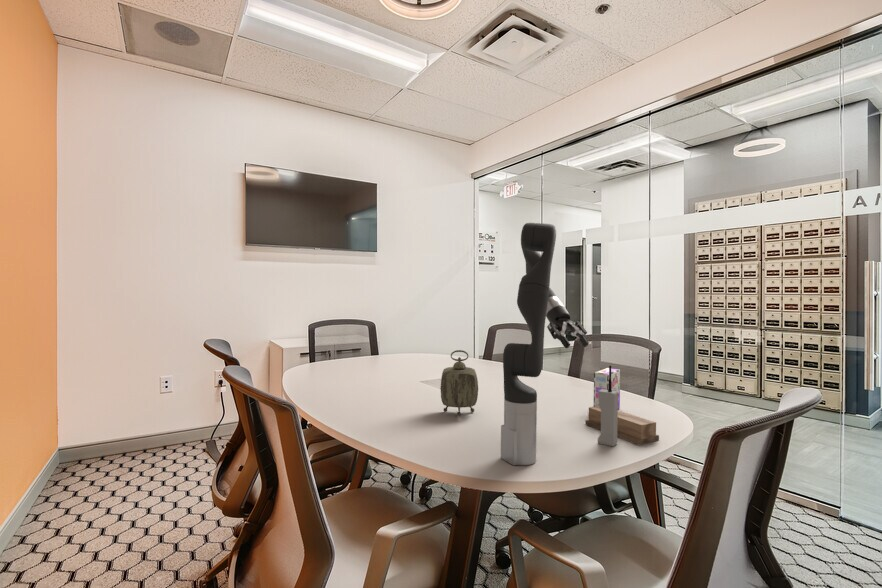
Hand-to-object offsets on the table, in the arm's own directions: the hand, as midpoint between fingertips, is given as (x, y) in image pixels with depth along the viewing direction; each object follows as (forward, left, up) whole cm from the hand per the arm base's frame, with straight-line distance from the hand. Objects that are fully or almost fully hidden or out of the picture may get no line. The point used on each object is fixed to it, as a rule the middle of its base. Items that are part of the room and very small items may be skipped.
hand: (577, 346), depth 144 cm
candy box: (+29, +13, -30) cm, 44 cm away
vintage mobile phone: (0, -13, -30) cm, 32 cm away
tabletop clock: (-28, +34, -30) cm, 53 cm away
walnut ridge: (+13, -7, -29) cm, 33 cm away
